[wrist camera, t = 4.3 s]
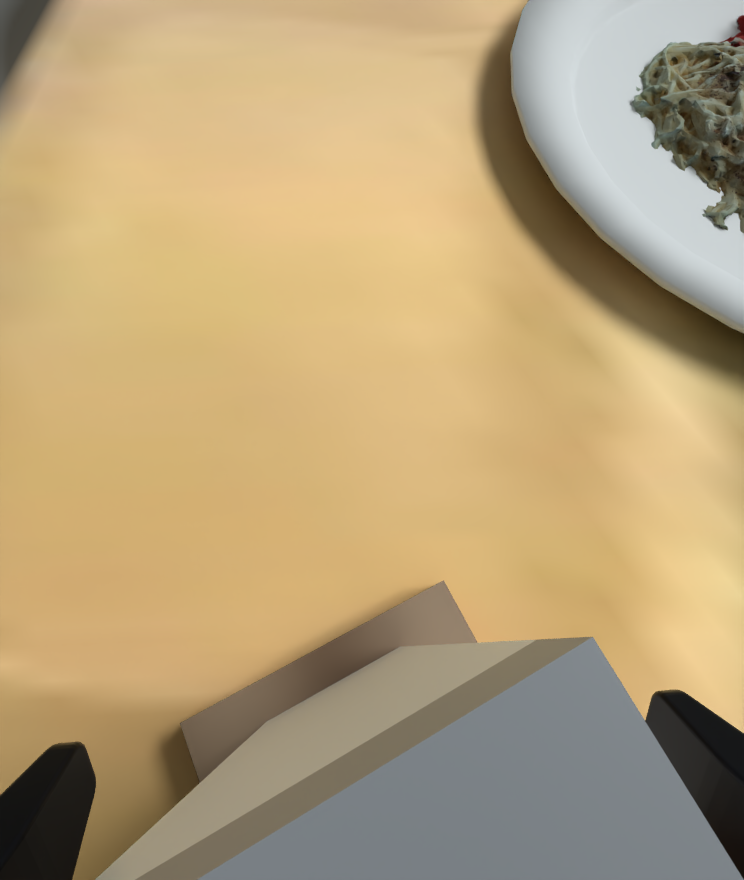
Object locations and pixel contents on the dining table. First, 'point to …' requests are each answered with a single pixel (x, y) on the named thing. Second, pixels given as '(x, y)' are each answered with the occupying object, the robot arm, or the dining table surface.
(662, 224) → the plated food
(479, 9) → the dining table surface
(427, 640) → the socket deck
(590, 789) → the plug
